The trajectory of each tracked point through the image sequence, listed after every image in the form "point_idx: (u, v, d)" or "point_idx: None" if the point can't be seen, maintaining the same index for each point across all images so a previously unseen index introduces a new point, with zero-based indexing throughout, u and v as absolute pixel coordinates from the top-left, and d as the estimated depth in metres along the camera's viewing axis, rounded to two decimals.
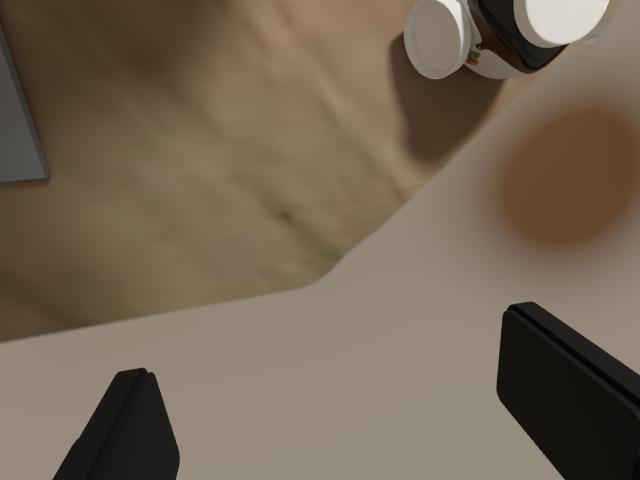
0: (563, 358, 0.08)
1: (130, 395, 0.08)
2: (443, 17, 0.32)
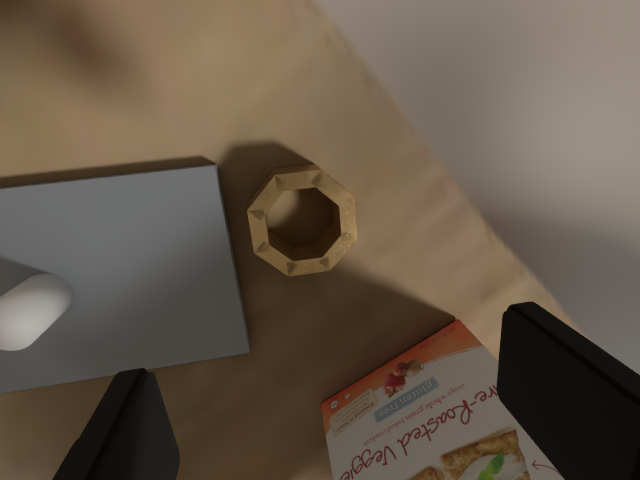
0: (563, 358, 0.08)
1: (130, 395, 0.08)
2: None
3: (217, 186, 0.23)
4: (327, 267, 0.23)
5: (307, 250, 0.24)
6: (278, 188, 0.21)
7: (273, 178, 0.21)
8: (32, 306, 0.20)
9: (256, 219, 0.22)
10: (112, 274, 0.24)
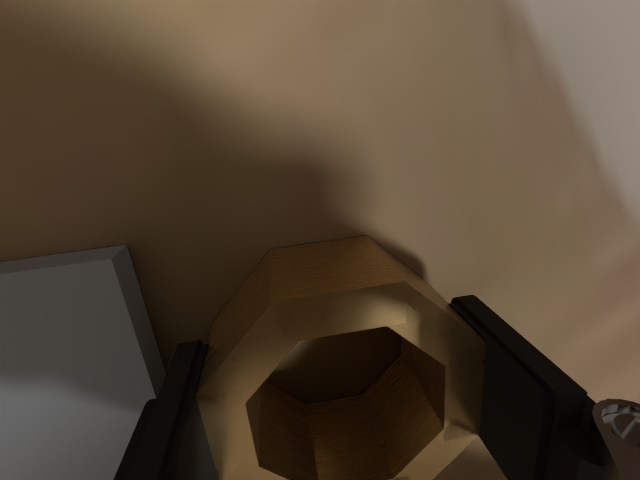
0: (489, 346, 0.08)
1: (194, 362, 0.08)
2: None
3: (124, 308, 0.09)
4: None
5: (349, 432, 0.11)
6: (282, 336, 0.07)
7: (268, 311, 0.07)
8: None
9: (223, 415, 0.08)
10: None
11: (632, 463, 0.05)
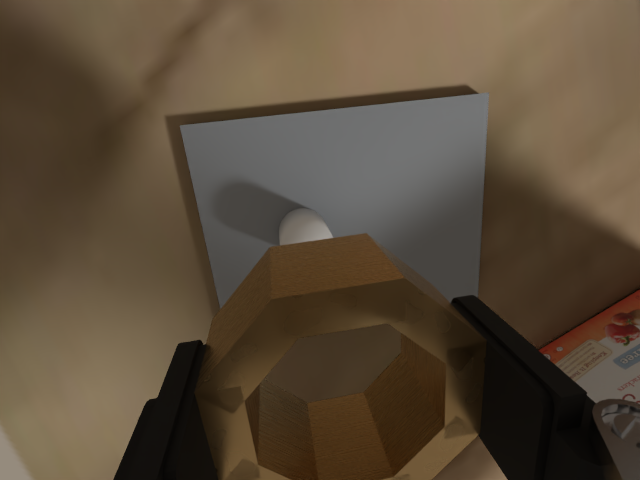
0: (489, 345, 0.08)
1: (195, 362, 0.08)
2: None
3: (486, 115, 0.22)
4: None
5: (349, 431, 0.11)
6: (282, 333, 0.07)
7: (267, 308, 0.07)
8: (330, 233, 0.19)
9: (221, 413, 0.08)
10: (367, 211, 0.23)
11: (632, 463, 0.05)
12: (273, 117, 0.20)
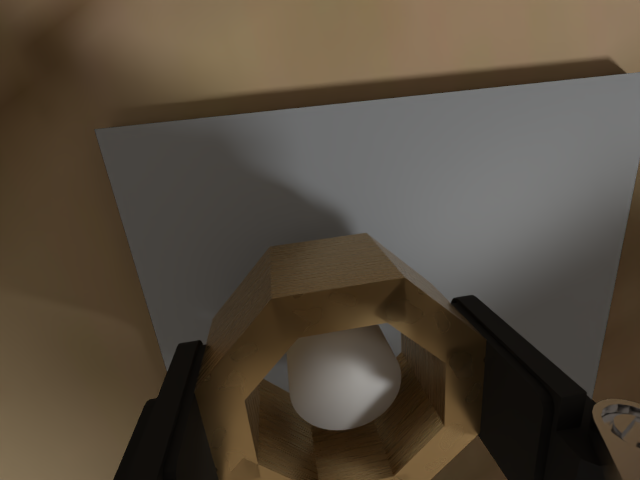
0: (489, 346, 0.08)
1: (194, 362, 0.08)
2: None
3: None
4: None
5: (349, 430, 0.11)
6: (282, 332, 0.07)
7: (267, 307, 0.07)
8: (385, 340, 0.10)
9: (222, 412, 0.08)
10: (433, 274, 0.13)
11: (632, 463, 0.05)
12: (274, 114, 0.11)
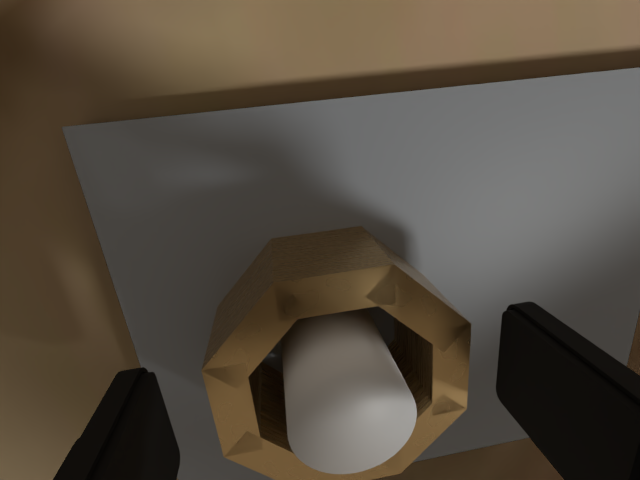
0: (562, 358, 0.08)
1: (131, 395, 0.08)
2: None
3: None
4: (395, 468, 0.10)
5: None
6: (282, 314, 0.08)
7: (269, 291, 0.08)
8: (398, 370, 0.08)
9: (227, 388, 0.08)
10: (446, 287, 0.12)
11: None
12: (269, 109, 0.09)
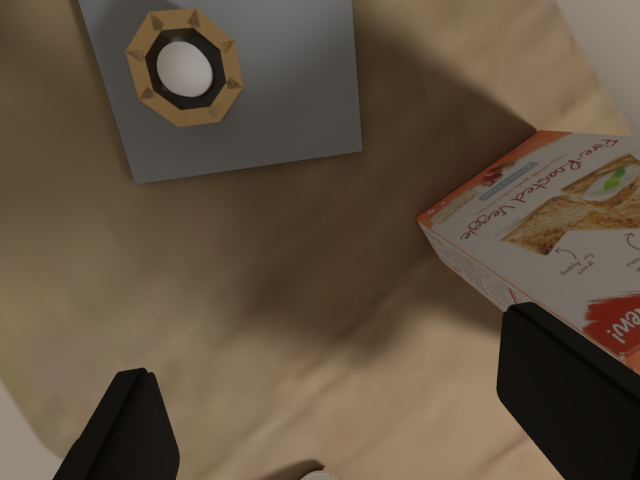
0: (563, 358, 0.08)
1: (130, 395, 0.08)
2: None
3: None
4: (216, 118, 0.24)
5: None
6: (154, 27, 0.22)
7: (148, 15, 0.21)
8: None
9: (136, 61, 0.22)
10: (250, 57, 0.26)
11: None
12: None
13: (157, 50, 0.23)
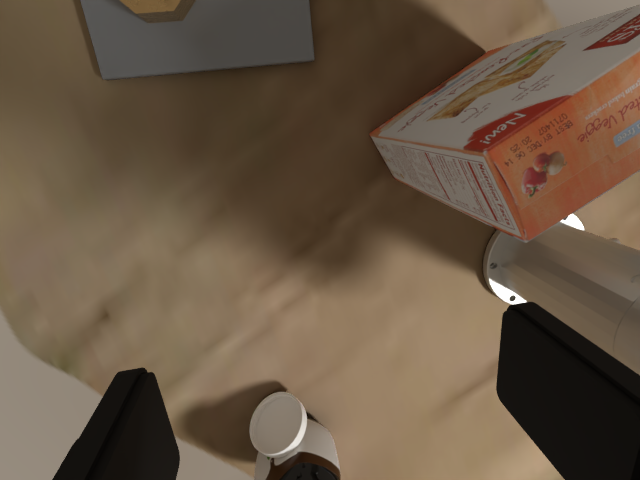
0: (563, 358, 0.08)
1: (130, 395, 0.08)
2: (292, 428, 0.41)
3: None
4: (170, 7, 0.26)
5: None
6: None
7: None
8: None
9: None
10: None
11: None
12: None
13: None
